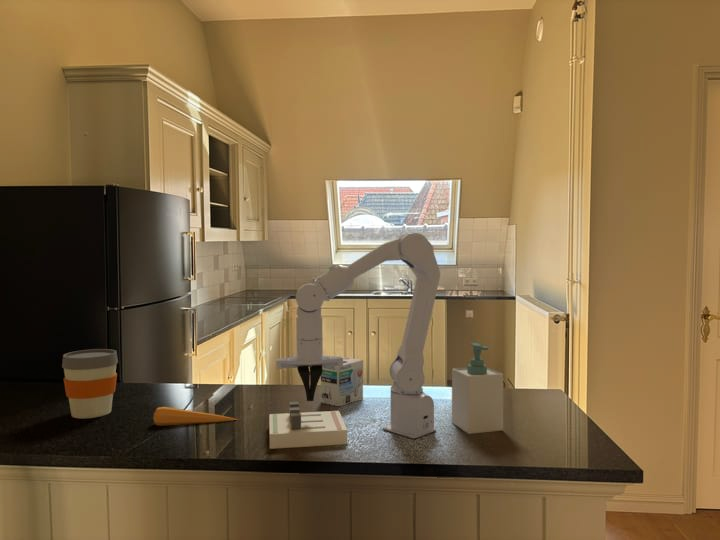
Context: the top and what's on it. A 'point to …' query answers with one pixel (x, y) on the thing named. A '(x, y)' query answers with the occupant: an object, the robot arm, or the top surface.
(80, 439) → the top surface
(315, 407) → the top surface
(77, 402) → the reusable coffee cup
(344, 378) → the light bulb box
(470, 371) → the soap bottle
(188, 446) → the top surface
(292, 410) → the block
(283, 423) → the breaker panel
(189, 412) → the carrot
